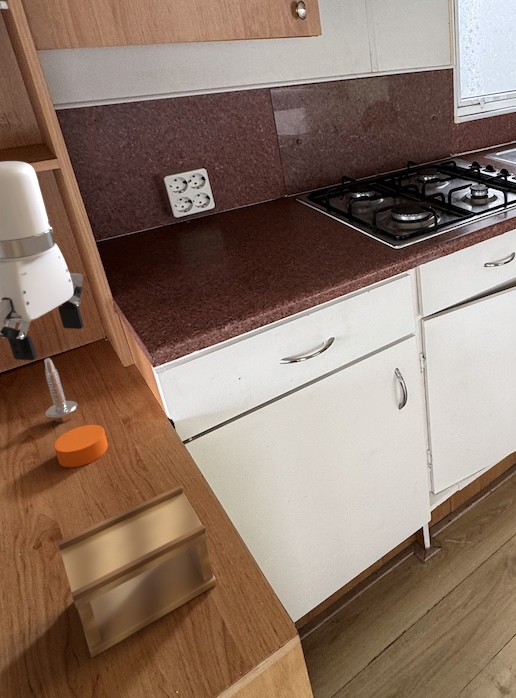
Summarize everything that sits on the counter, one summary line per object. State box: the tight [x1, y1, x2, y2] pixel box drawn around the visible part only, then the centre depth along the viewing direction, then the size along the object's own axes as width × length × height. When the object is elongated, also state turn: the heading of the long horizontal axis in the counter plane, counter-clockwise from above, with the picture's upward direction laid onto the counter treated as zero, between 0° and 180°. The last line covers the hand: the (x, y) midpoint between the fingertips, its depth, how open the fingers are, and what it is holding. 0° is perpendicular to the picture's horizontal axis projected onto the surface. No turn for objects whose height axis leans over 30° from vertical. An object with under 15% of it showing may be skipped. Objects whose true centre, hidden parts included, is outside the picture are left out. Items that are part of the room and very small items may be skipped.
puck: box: [53, 424, 109, 468], centre depth 99 cm, size 7×7×3 cm
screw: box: [43, 357, 79, 423], centre depth 106 cm, size 13×5×5 cm
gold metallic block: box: [57, 484, 218, 658], centre depth 74 cm, size 14×10×10 cm
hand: (51, 342), depth 93 cm, fingers open, 9 cm apart
